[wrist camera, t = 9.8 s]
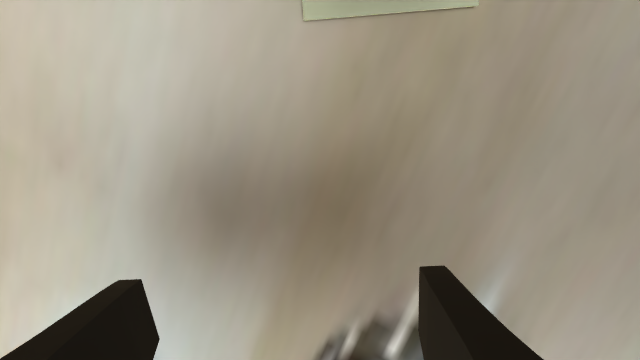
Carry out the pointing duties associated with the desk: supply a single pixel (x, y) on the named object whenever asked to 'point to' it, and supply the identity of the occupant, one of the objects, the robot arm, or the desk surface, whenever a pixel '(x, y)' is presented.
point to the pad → (374, 7)
